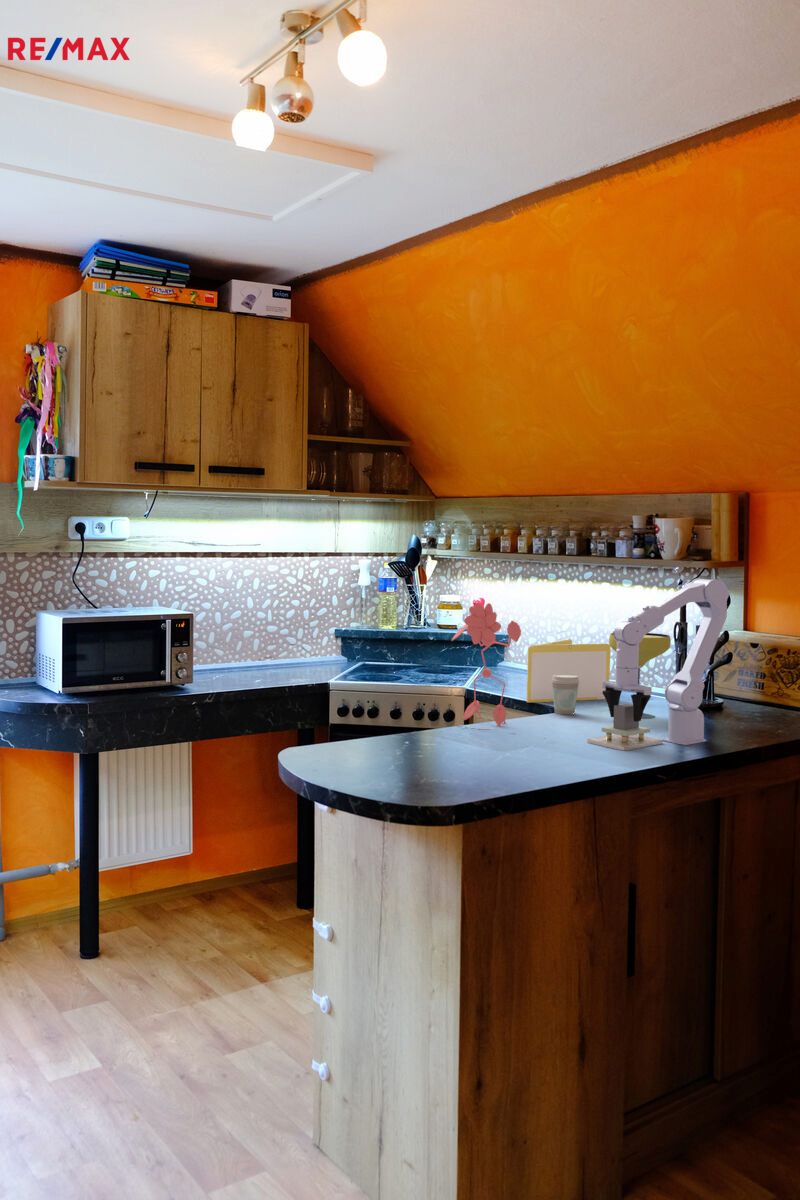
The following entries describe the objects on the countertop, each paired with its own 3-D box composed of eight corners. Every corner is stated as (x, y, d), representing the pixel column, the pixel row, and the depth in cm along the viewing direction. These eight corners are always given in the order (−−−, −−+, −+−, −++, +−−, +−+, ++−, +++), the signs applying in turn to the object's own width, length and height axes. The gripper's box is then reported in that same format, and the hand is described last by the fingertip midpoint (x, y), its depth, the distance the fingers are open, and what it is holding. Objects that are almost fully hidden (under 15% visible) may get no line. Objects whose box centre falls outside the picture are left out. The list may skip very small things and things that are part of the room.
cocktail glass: (657, 724, 291) (660, 638, 289) (598, 717, 300) (600, 635, 299) (675, 715, 306) (678, 634, 305) (618, 709, 316) (620, 631, 314)
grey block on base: (625, 727, 268) (626, 701, 268) (650, 732, 262) (651, 705, 262) (601, 731, 262) (602, 704, 262) (626, 736, 256) (626, 709, 255)
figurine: (461, 716, 299) (463, 599, 297) (530, 728, 281) (533, 604, 279) (426, 722, 288) (428, 601, 286) (495, 735, 270) (498, 606, 268)
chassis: (626, 736, 272) (626, 725, 271) (662, 743, 262) (663, 732, 262) (587, 742, 262) (587, 731, 261) (623, 750, 252) (624, 738, 252)
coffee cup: (549, 716, 302) (550, 676, 301) (551, 711, 310) (552, 673, 309) (577, 717, 300) (578, 678, 299) (579, 713, 308) (580, 674, 307)
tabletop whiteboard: (560, 691, 354) (561, 637, 353) (619, 697, 342) (621, 640, 341) (518, 704, 324) (519, 644, 323) (581, 711, 313) (583, 649, 312)
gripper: (595, 665, 264) (594, 716, 265) (640, 671, 253) (638, 724, 253) (612, 663, 268) (611, 713, 269) (657, 669, 257) (655, 721, 258)
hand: (625, 719), depth 262 cm, fingers open, 7 cm apart
